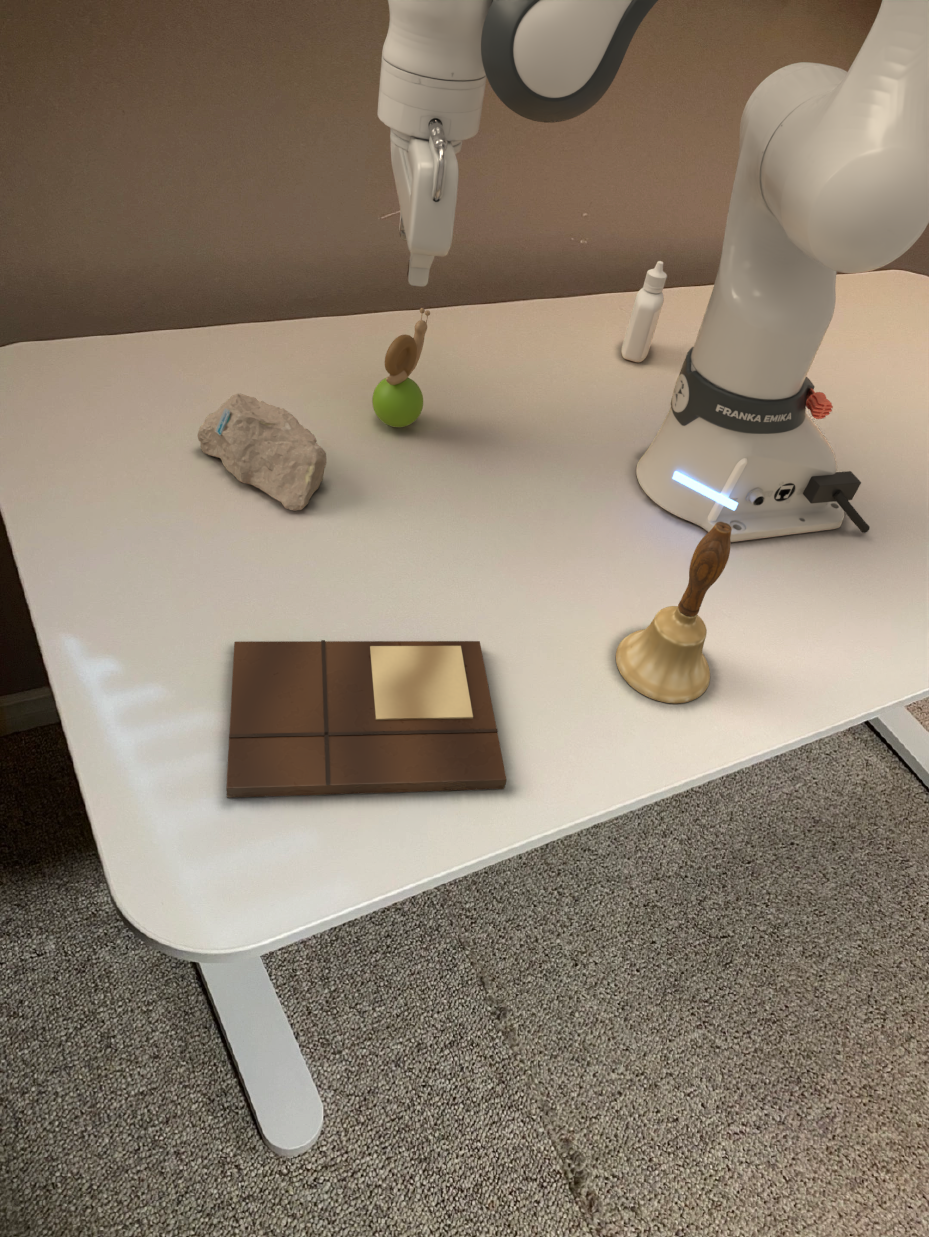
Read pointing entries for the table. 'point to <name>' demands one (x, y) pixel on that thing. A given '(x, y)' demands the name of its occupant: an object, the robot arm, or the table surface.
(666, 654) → the hand bell
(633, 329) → the eye dropper bottle
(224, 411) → the concrete fragment
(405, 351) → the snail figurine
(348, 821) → the table surface
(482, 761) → the game board
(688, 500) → the robot arm
